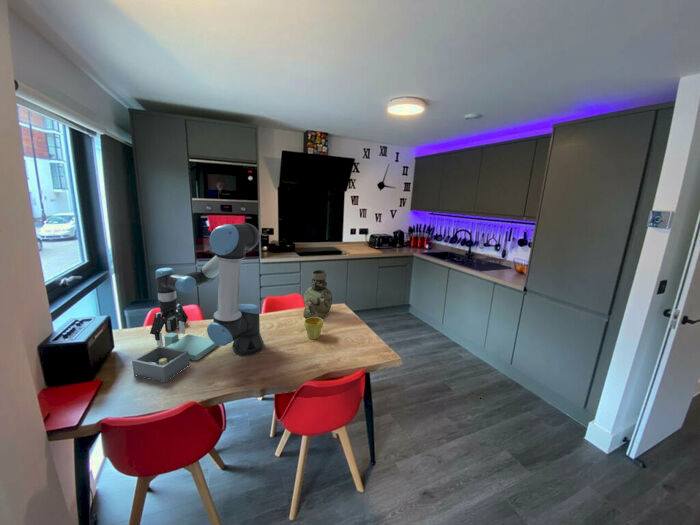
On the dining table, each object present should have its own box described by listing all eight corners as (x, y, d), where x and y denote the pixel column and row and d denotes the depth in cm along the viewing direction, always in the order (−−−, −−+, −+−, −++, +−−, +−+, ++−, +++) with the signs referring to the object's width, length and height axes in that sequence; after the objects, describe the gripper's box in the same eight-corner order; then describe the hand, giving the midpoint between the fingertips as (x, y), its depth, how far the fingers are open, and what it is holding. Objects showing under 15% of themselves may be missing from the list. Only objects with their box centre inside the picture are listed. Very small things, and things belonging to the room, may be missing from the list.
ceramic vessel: (312, 325, 175) (313, 278, 168) (297, 313, 191) (297, 270, 185) (338, 319, 186) (340, 274, 179) (322, 308, 202) (323, 267, 196)
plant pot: (300, 338, 158) (300, 322, 156) (310, 331, 167) (310, 315, 165) (317, 342, 154) (317, 326, 152) (325, 334, 164) (326, 319, 162)
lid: (218, 346, 148) (217, 335, 146) (196, 361, 133) (195, 350, 132) (180, 338, 153) (179, 327, 152) (155, 352, 138) (154, 341, 137)
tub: (189, 365, 129) (188, 351, 128) (165, 382, 117) (163, 367, 116) (160, 359, 133) (159, 345, 132) (134, 375, 121) (131, 360, 119)
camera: (180, 331, 160) (178, 314, 158) (164, 331, 159) (163, 314, 157) (191, 321, 174) (189, 305, 172) (176, 321, 173) (175, 305, 171)
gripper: (181, 290, 152) (185, 327, 157) (137, 307, 129) (142, 350, 133) (193, 292, 151) (196, 329, 155) (150, 309, 127) (155, 352, 132)
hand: (171, 339), depth 144 cm, fingers open, 13 cm apart
